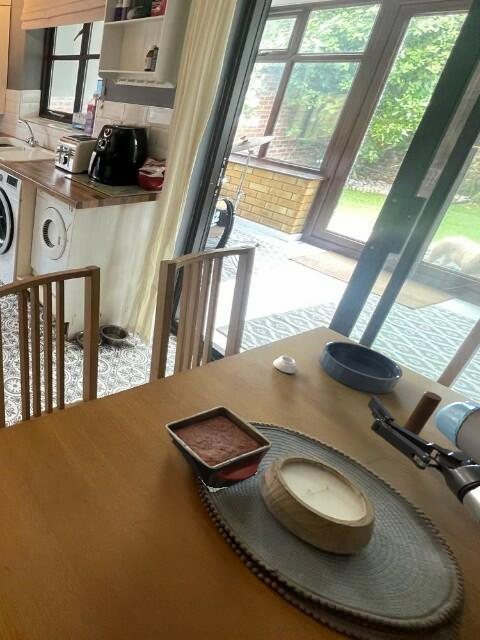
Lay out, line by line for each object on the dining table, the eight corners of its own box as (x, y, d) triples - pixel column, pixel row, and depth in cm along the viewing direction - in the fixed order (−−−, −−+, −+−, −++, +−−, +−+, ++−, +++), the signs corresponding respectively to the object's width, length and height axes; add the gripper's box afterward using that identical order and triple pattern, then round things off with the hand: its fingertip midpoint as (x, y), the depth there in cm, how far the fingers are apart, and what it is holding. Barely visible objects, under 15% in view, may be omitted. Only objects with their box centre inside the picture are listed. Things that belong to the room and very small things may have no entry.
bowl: (393, 373, 109) (402, 358, 107) (393, 404, 99) (402, 389, 97) (321, 348, 118) (328, 334, 116) (314, 374, 108) (321, 360, 106)
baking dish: (153, 444, 91) (158, 416, 85) (222, 420, 93) (231, 391, 88) (200, 509, 79) (210, 480, 73) (278, 479, 81) (292, 449, 76)
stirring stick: (409, 444, 89) (441, 395, 83) (409, 451, 87) (442, 402, 81) (394, 438, 90) (424, 389, 84) (394, 444, 88) (425, 395, 83)
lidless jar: (285, 361, 113) (268, 362, 113) (289, 353, 112) (272, 353, 112) (300, 374, 109) (282, 374, 108) (304, 365, 107) (286, 366, 107)
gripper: (389, 492, 74) (334, 407, 93) (575, 535, 68) (475, 434, 86) (409, 464, 71) (347, 382, 89) (605, 506, 64) (495, 408, 83)
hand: (410, 407), depth 88 cm, fingers open, 13 cm apart
